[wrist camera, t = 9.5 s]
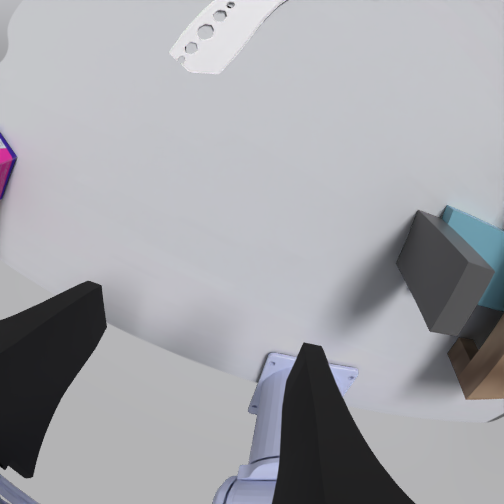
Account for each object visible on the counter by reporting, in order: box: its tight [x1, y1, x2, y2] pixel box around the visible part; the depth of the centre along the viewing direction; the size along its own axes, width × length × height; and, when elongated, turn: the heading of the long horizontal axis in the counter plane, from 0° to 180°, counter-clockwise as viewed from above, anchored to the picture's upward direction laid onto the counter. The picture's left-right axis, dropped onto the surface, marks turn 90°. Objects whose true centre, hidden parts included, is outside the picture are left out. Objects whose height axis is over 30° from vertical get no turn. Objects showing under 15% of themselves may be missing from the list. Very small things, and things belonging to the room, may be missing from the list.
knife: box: [169, 0, 286, 74], centre depth 12 cm, size 30×2×8 cm
